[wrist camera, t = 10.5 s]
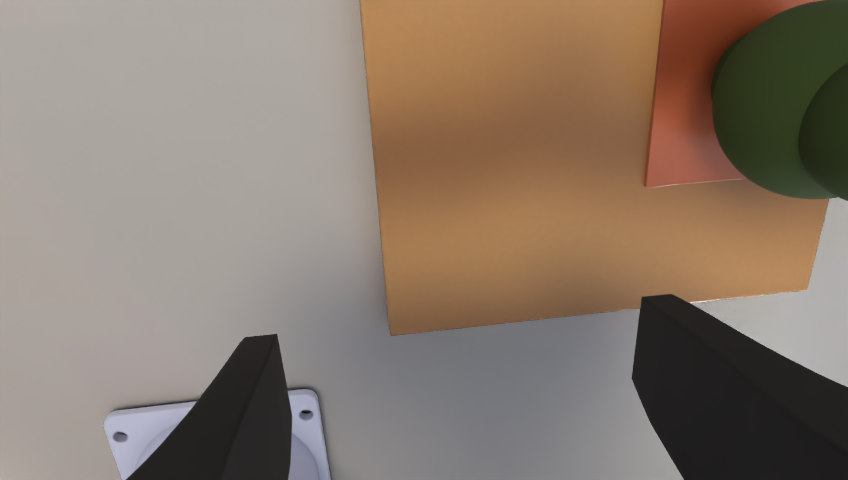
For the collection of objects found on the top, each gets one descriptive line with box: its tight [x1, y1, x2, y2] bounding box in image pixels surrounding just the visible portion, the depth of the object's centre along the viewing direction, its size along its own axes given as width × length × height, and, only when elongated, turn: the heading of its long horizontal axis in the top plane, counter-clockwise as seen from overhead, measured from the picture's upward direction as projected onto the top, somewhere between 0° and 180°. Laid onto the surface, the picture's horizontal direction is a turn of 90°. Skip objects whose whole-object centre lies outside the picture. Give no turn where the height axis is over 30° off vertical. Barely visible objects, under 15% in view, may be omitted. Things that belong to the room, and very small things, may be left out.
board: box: [359, 0, 829, 336], centre depth 22 cm, size 12×16×1 cm
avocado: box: [711, 0, 848, 201], centre depth 18 cm, size 5×5×7 cm
